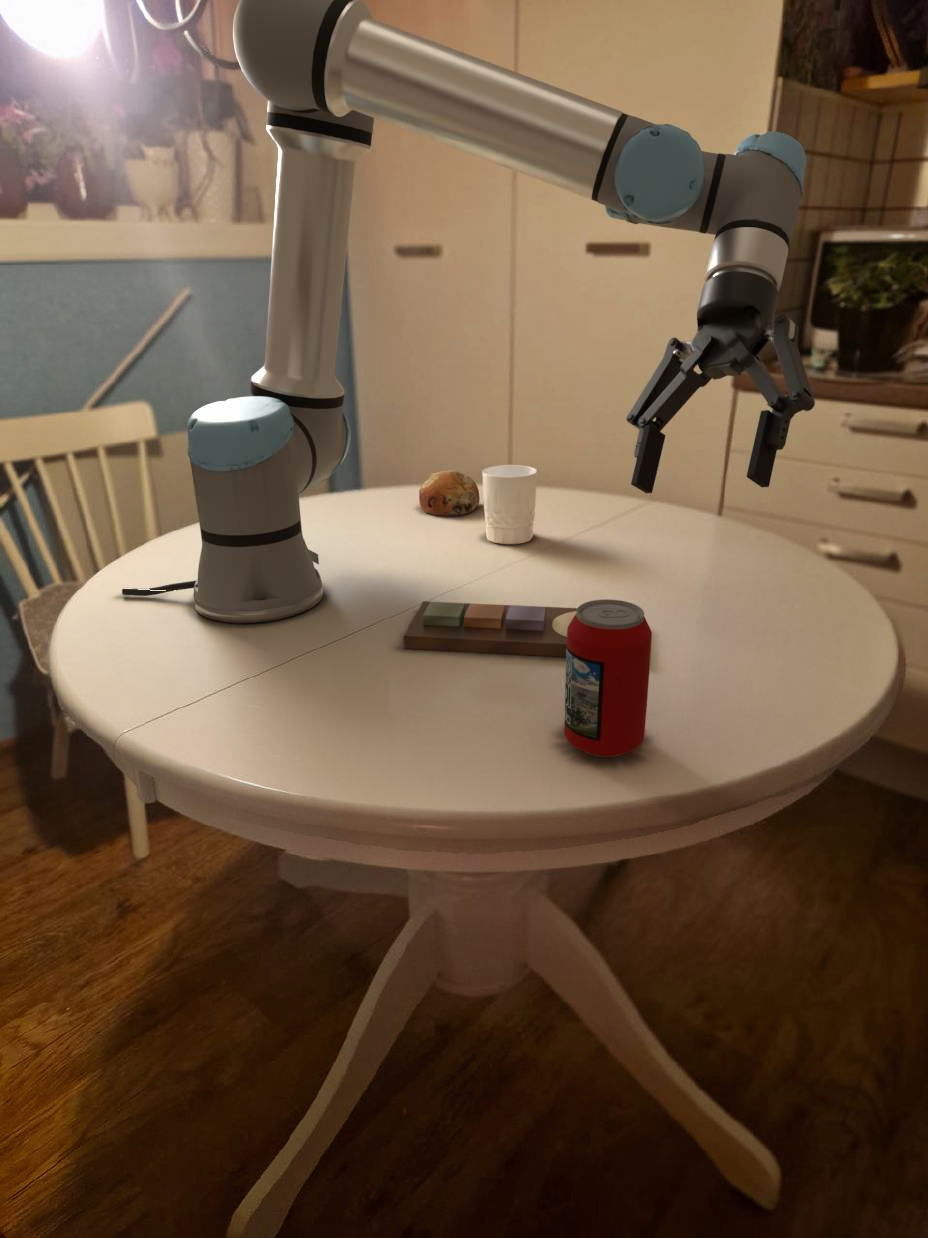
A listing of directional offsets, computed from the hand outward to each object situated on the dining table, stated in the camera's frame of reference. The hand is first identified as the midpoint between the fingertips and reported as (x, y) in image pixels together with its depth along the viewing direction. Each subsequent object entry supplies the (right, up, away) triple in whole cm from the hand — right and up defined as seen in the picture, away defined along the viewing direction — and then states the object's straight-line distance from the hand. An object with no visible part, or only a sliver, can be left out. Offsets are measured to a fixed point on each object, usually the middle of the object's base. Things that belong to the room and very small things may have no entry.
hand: (695, 485), depth 85 cm
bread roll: (-25, +5, +57) cm, 63 cm away
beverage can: (-11, -24, -12) cm, 29 cm away
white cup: (-16, -1, +42) cm, 45 cm away
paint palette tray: (-17, -15, +9) cm, 24 cm away
